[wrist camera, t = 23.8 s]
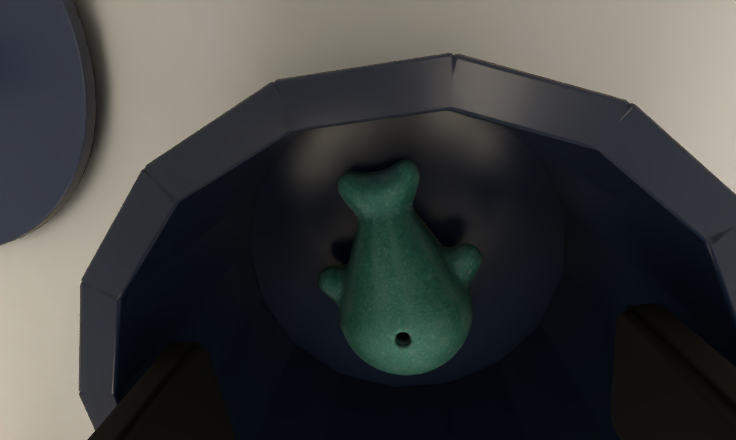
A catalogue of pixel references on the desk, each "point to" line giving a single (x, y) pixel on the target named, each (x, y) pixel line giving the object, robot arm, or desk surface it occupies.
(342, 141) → the tin
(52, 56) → the tin lid
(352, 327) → the whale figurine
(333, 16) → the desk surface
